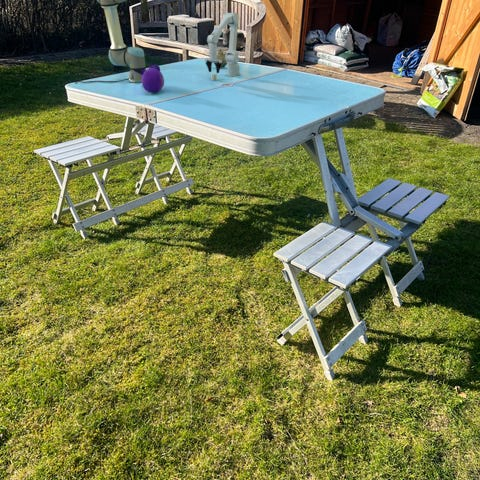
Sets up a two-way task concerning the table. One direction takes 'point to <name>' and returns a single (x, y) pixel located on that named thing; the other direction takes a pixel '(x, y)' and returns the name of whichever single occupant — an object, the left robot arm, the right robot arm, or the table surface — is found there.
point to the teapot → (221, 58)
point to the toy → (152, 79)
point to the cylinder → (214, 77)
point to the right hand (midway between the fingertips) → (214, 72)
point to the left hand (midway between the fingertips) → (146, 22)
